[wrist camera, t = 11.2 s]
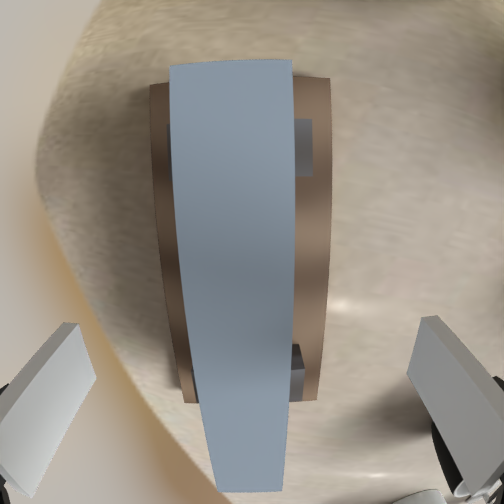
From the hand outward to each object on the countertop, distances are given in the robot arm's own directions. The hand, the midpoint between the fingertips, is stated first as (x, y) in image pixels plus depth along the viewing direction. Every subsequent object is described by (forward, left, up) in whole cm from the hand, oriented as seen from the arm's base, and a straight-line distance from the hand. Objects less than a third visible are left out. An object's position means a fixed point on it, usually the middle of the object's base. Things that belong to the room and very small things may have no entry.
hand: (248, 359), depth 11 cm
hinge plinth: (0, 0, -12) cm, 12 cm away
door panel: (0, 0, -10) cm, 10 cm away
